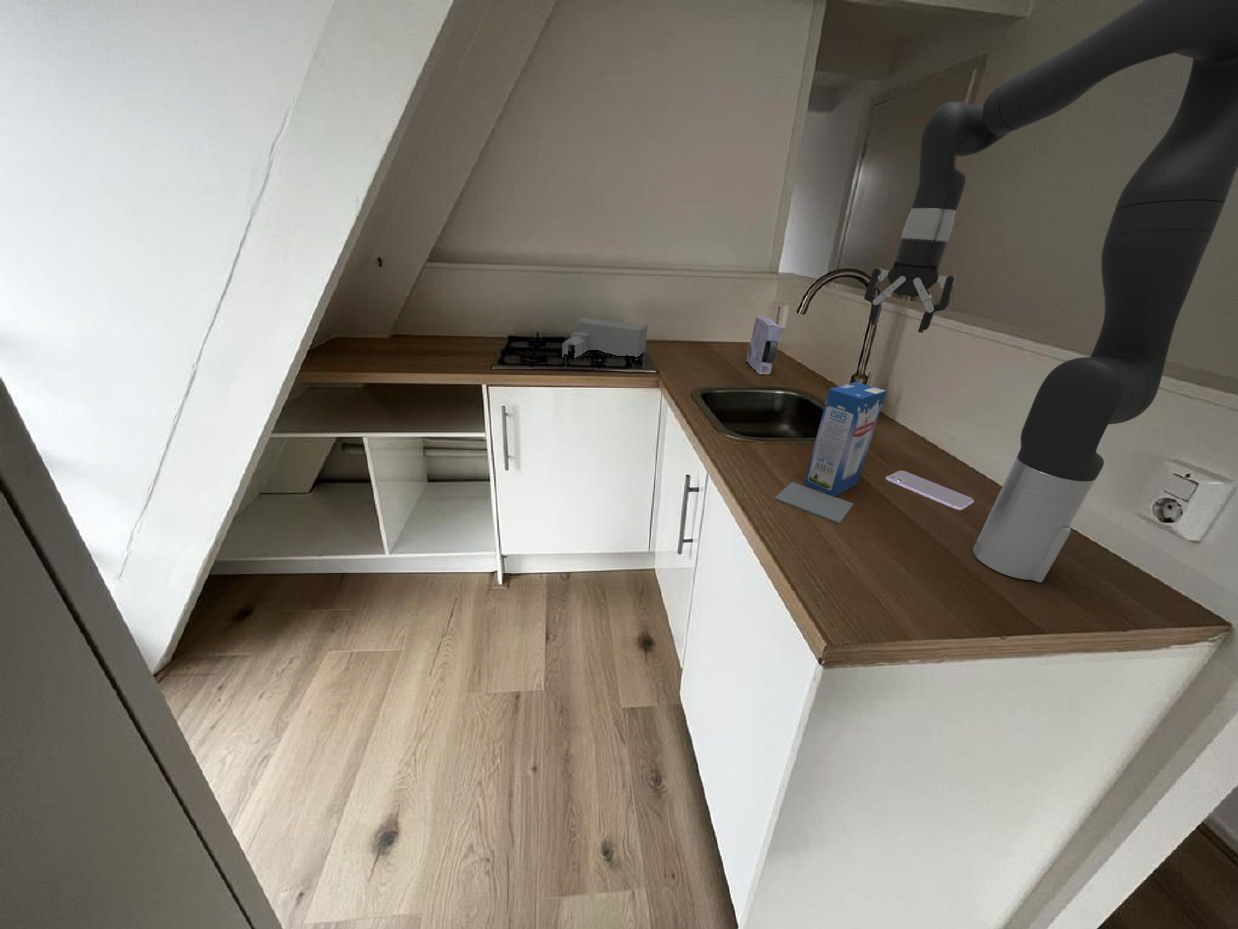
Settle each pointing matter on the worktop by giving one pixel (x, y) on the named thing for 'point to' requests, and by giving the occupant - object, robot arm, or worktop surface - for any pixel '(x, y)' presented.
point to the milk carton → (844, 437)
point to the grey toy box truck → (606, 338)
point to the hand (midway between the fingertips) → (896, 328)
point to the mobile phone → (930, 490)
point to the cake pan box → (763, 345)
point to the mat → (814, 502)
